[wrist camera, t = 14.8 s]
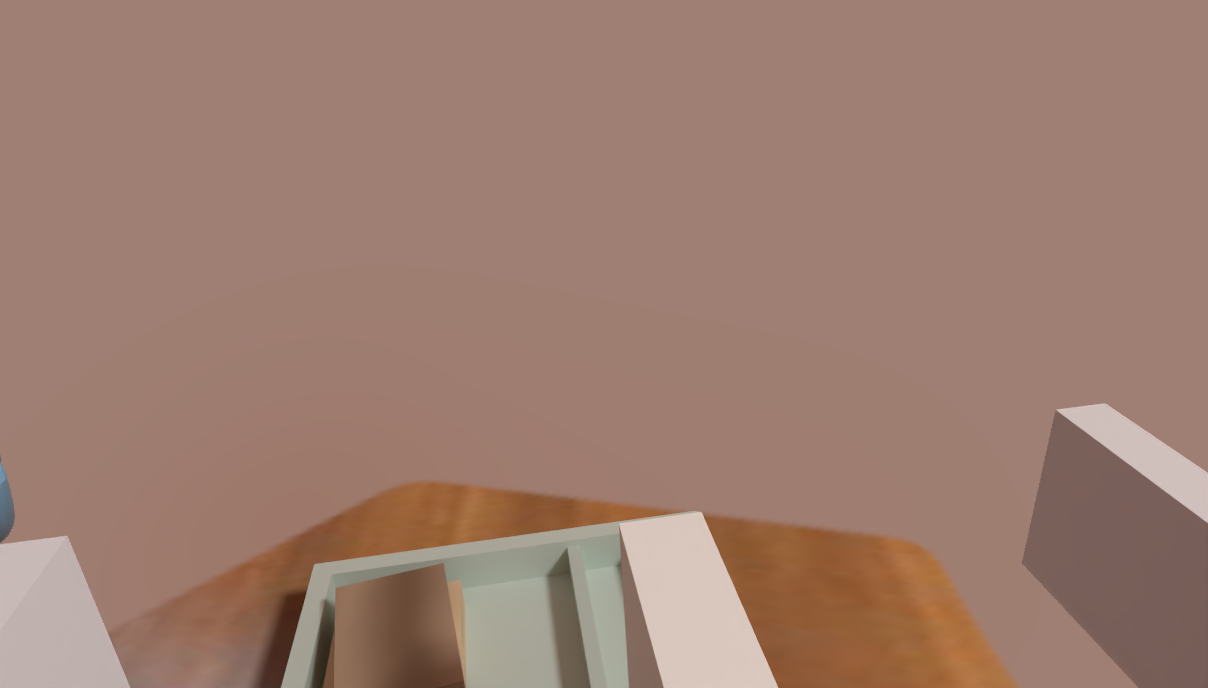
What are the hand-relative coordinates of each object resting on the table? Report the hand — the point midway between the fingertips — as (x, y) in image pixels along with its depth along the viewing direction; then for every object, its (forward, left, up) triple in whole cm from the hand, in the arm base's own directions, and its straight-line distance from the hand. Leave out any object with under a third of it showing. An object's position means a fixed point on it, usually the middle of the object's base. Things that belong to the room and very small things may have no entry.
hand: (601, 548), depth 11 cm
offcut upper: (-9, +24, -25) cm, 36 cm away
